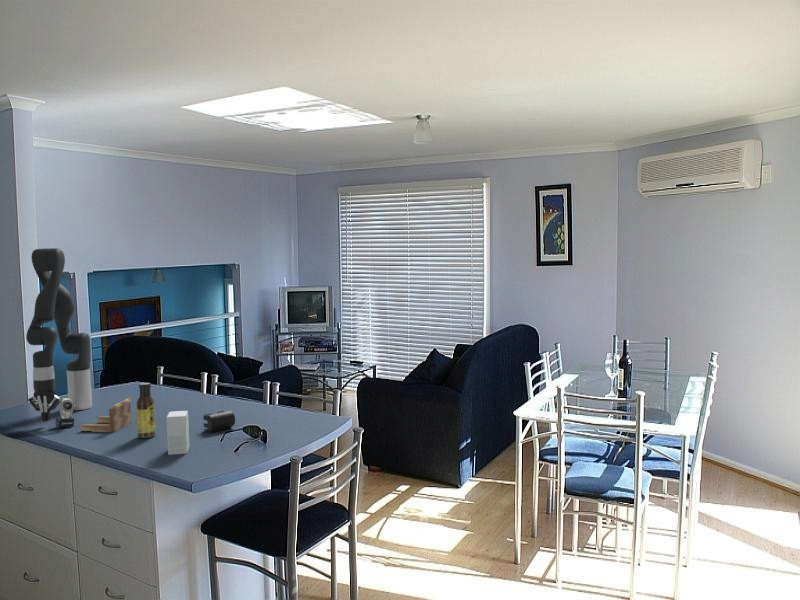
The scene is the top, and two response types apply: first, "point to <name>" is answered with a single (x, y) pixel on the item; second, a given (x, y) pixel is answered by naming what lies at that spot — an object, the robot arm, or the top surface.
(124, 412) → the display stand
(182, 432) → the small box
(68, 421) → the watch
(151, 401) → the sauce bottle
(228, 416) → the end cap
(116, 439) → the top surface
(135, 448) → the top surface
